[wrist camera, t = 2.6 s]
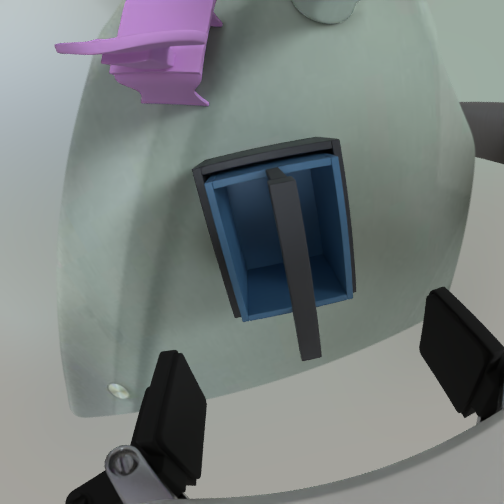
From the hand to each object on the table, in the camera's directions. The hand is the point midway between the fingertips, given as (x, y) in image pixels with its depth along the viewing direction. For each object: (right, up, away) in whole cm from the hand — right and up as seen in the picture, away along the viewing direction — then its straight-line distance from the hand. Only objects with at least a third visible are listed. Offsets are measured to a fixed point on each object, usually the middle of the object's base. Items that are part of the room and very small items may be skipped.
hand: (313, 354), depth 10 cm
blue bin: (0, +7, +17) cm, 18 cm away
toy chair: (-8, +21, +11) cm, 25 cm away
